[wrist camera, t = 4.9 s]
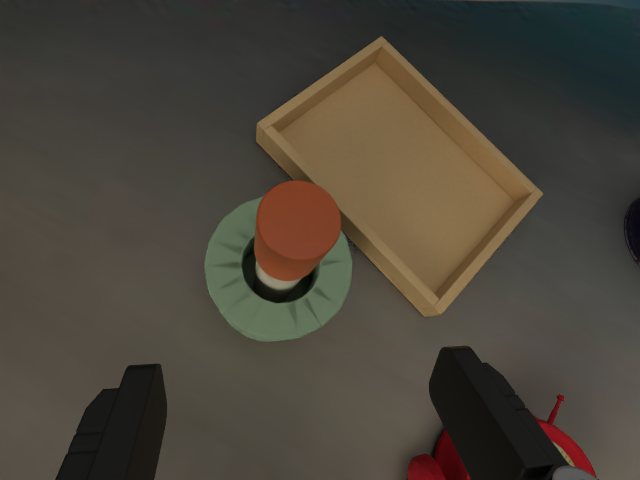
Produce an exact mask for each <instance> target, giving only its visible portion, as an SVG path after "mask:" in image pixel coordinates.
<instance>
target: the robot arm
mask: <svg viewBox="0 0 640 480" xmlns="http://www.w3.org/2000/svg"><path fill="white" fill-rule="evenodd" d="M429 393H430V397H431V400H432V403H433V405H434V407H435V409H436V411H437V413H438V415H439V417H440V419H441V421H442V423H443V425H444V427H445V429H446V431H447V433H448V435H449V437H450V439H451V441H452V443H453V445H454V447H455V449H456V451H457V453H458V455H459V457H460V459H461V461H462V463H463V465H464V467H465V469H466V471H467V473H468V475H469V477H470V479H471V480H599V479H597V478H596V477H595V476H593V475H592V474H590V473H589V472H587V471H585V470H583V469H580V468H578V467H574V466H571V465H570V464H569V463H568V462H567V461H566V459H565V458H564V457H563V455H562V454H561V453H560V451H559V450H558V449H557V447H556V446H555V445H554V443H553V442H552V441H551V439H550V438H549V437H548V435H547V434H546V433H545V431H544V430H543V429H542V427H541V426H540V425H539V423H538V422H537V421H536V419H535V418H534V417H533V415H532V414H531V413H530V411H529V410H528V409H526V408H525V405H524V403H523V402H522V401H521V399H520V398H519V397H518V395H515V391H514V390H513V389H512V387H511V386H510V384H509V383H508V382H507V380H506V379H505V378H504V376H503V375H501V374H500V373H499V372H498V371H496V370H495V369H494V368H493V367H492V366H490V365H489V364H488V363H482V362H481V361H480V359H479V358H478V357H477V355H476V354H475V352H474V351H473V350H472V349H471V348H470V347H469V346H453V347H443V348H442V349H441V350H440V352H439V355H438V358H437V361H436V364H435V366H434V369H433V372H432V375H431V378H430V381H429ZM166 417H167V400H166V393H165V387H164V381H163V374H162V368H161V365H160V364H145V365H130V366H128V367H127V368H126V370H125V373H124V376H123V378H122V381H121V384H120V387H119V388H114V389H103V390H102V391H101V392H100V393H99V395H98V396H97V397H96V398H95V399H94V400H93V401H92V402H91V403H90V405H89V406H88V407H87V408H86V410H85V412H84V414H83V416H82V419H81V421H80V423H79V426H78V428H77V430H76V431H77V432H76V435H74V437H73V440H72V442H71V444H70V447H69V449H68V454H66V456H65V458H64V461H63V463H62V465H61V468H60V470H59V472H58V475H57V477H56V479H55V480H154V478H155V473H156V468H157V463H158V459H159V454H160V449H161V444H162V439H163V435H164V430H165V425H166Z"/></svg>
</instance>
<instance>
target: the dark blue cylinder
mask: <svg viewBox="0 0 640 480" xmlns="http://www.w3.org/2000/svg"><path fill="white" fill-rule="evenodd" d="M624 230H625V237H626V241H627V244H628V247H629V250H630V252H631V254H632V256H633V258H634V259H635V261H636V262H637V264H638V265H639V267H640V198H639V199H637V200H636V201H634V202H633V203H632V204H631V205H630V207H629V209H628V210H627V213H626V216H625V222H624Z"/></svg>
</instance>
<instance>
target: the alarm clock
mask: <svg viewBox="0 0 640 480" xmlns="http://www.w3.org/2000/svg"><path fill="white" fill-rule="evenodd" d="M557 399H558V401H557V403H556V405H555V407H554V409H553V410H552V412H551V414H550V416H549V419H548V421H547V422H546V421H543V420H540V419H537V418H536V417H535V416H534V415H533V417H534V418H535V419H536V421H537V422H538V423H539V425H540V426H541V427H542V429H543V430H544V431H545V433H546V434H547V435H548V437H549V438H550V439H551V441H552V442H553V443H554V445H555V446H556V447H557V449H558V450H559V451H560V453H561V454H562V455H563V457H564V458H565V459H566V461H567V462H568V463H569V464H570V465H571V466H574V467H578V468H580V469H583V470H585V471H587V472H589V473H590V474H592V475H593V476H595V477H596V474H595V472H594V470H593V467H592V465H591V463H590V462H589V460H588V458H587V457H586V455H585V454H584V452H583V451H582V449H581V448H580V447H579V446H578V445H577V444H576V443H575V442H574V441H573V440H572V439H571V438H570V437H569V436H568V435H567V434H565V433H564V432H563V431H561V430H560V429H558V428H557V427H555V426H554V425H552V424H553V422H554V419H555V417H556V414H557V411H558V408H559V406H560V403H561V401H564V396H562V395H560V394H559V395H557ZM596 478H597V477H596ZM408 480H471V479H470V477H469V475H468V473H467V471H466V469H465V467H464V465H463V463H462V461H461V459H460V457H459V455H458V453H457V451H456V449H455V447H454V445H453V443H452V441H451V439H450V437H449V435H448V433H447V431H446V429H445V430H444V431H443V433H442V435H441V437H440V439H439V441H438V444H437V447H436V450H435V454H434V459H433V458H432V457H431V456H429V455H427V454H422V455H419V456H416V457H415V458H413V459H412V461H411V462H410V465H409V467H408Z"/></svg>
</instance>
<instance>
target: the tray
mask: <svg viewBox="0 0 640 480" xmlns="http://www.w3.org/2000/svg"><path fill="white" fill-rule="evenodd" d="M256 142H257V143H258V144H259V145H260V146H261V147H262V148H263V149H264V150H265V151H266V152H267V153H268V154H269V155H270V156H271V157H272V158H273V159H274V160H275V161H276V163H277V164H278V165H279V166H280V167H281V168H282V169H283V170H284V171H285V172H286V173H287V174H288V175H289V176H290V177H291V178H292V179H293V180H301V181H307V182H311V183H314V184H316V185H318V186H320V187H321V188H323V189H324V190H326V191H327V192H328V193H329V194H330V195H331V197H332V198H333V199H334V201H335V202H336V204H337V206H338V208H339V211H340V215H341V230H342V231H343V232H344V233H345V235H346V236H347V237H348V238H349V239H350V240H351V241H352V242H353V243H354V244H355V245H356V246H357V247H358V248H359V249H360V250H361V251H362V252H363V253H364V254H365V255H366V256H367V257H368V258H369V260H370V261H371V262H372V263H373V264H374V265H375V266H376V267H377V268H378V269H379V270H380V271H381V272H382V273H383V274H384V275H385V276H386V277H387V278H388V279H389V280H390V281H391V282H392V284H393V285H394V286H395V287H396V288H397V289H398V290H399V291H400V292H401V293H402V294H403V295H404V296H405V297H406V298H407V299H408V300H409V301H410V302H411V303H412V304H413V305H414V306H415V308H416V309H417V310H418V311H419V312H420V313H421V314H422V315H423V316H424V317H430V316H436V315H441V314H442V313H443V312H444V311H445V310H446V309H447V307H448V306H449V305H450V304H451V303H452V301H453V300H454V299H455V298H456V297H457V296H458V294H459V293H460V292H461V291H462V290H463V288H464V287H465V286H466V285H467V284H468V283H469V281H470V280H471V279H472V278H473V277H474V275H475V274H476V273H477V272H478V271H479V270H480V268H481V267H482V266H483V265H484V264H485V262H486V261H487V260H488V259H489V258H490V257H491V255H492V254H493V253H494V252H495V251H496V249H497V248H498V247H499V246H500V245H501V244H502V242H503V241H504V240H505V239H506V238H507V237H508V235H509V234H510V233H511V232H512V231H513V229H514V228H515V227H516V226H517V225H518V224H519V222H520V221H521V220H522V219H523V218H524V216H525V215H526V214H527V213H528V212H529V211H530V209H531V208H532V207H533V206H534V205H535V203H536V202H537V201H538V200H539V199H540V198H541V196H542V195H543V193H542V192H541V191H540V190H539V189H538V188H536V186H535V185H534V184H533V183H532V182H531V181H530V180H529V179H528V178H527V177H526V176H525V175H524V174H523V173H522V172H521V171H520V170H519V169H517V168H516V167H515V166H514V165H513V164H512V163H511V162H510V161H509V160H508V159H507V158H506V157H505V156H504V155H503V154H502V153H501V152H500V151H499V150H498V149H497V148H496V147H495V146H494V145H493V144H492V143H491V142H490V141H489V140H488V139H487V138H486V137H485V136H484V135H483V134H482V133H481V132H480V131H479V130H478V129H476V128H475V127H474V126H473V125H472V124H471V123H470V122H469V121H468V120H467V119H466V118H465V117H464V116H463V115H462V114H461V113H460V112H459V111H458V110H457V109H456V108H455V107H454V106H453V105H452V104H451V103H450V102H449V101H448V100H447V99H446V98H445V97H444V96H443V95H442V94H441V93H440V92H439V91H438V90H437V89H435V88H434V87H433V86H432V85H431V84H430V83H429V82H428V81H427V80H426V79H425V78H424V77H423V76H422V75H421V74H420V73H419V72H418V71H417V70H416V69H415V68H414V67H413V66H412V65H411V64H410V63H409V62H408V61H407V60H406V59H405V58H404V57H403V56H402V55H401V54H400V53H399V52H398V51H397V50H396V49H394V48H393V47H392V46H391V45H390V44H389V43H387V41H386V40H385V39H384V38H383V37H382V36H381V37H380V38H378V39H377V40H375V41H374V42H373V43H371V44H370V45H368V46H367V47H365V48H364V49H363V50H361V51H360V52H358V53H357V54H355V55H354V56H352V57H351V58H350V59H348V60H347V61H345V62H344V63H342V64H341V65H340V66H338V67H337V68H335V69H334V70H332V71H331V72H330V73H328V74H327V75H325V76H324V77H322V78H321V79H320V80H318V81H317V82H315V83H314V84H312V85H311V86H310V87H308V88H307V89H305V90H304V91H302V92H301V93H300V94H298V95H297V96H295V97H294V98H292V99H291V100H290V101H288V102H287V103H285V104H284V105H282V106H281V107H279V108H278V109H277V110H275V111H274V112H272V113H271V114H269V115H268V116H267V117H265V118H264V119H262V120H261V121H259V122H258V123H257V133H256Z"/></svg>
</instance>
